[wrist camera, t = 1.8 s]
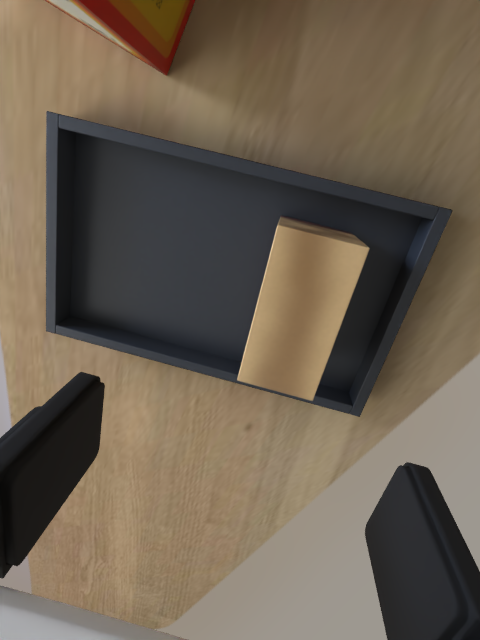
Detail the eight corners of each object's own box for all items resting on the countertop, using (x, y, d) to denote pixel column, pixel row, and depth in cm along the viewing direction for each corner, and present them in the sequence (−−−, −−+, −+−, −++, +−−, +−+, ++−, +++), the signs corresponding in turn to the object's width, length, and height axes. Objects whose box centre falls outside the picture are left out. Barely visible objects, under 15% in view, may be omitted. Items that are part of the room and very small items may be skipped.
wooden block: (351, 232, 24) (370, 248, 18) (308, 357, 27) (312, 401, 22) (280, 215, 24) (277, 224, 18) (247, 341, 28) (236, 380, 22)
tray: (436, 207, 23) (453, 210, 20) (354, 397, 29) (359, 417, 26) (70, 118, 24) (46, 110, 22) (65, 319, 30) (45, 331, 28)
